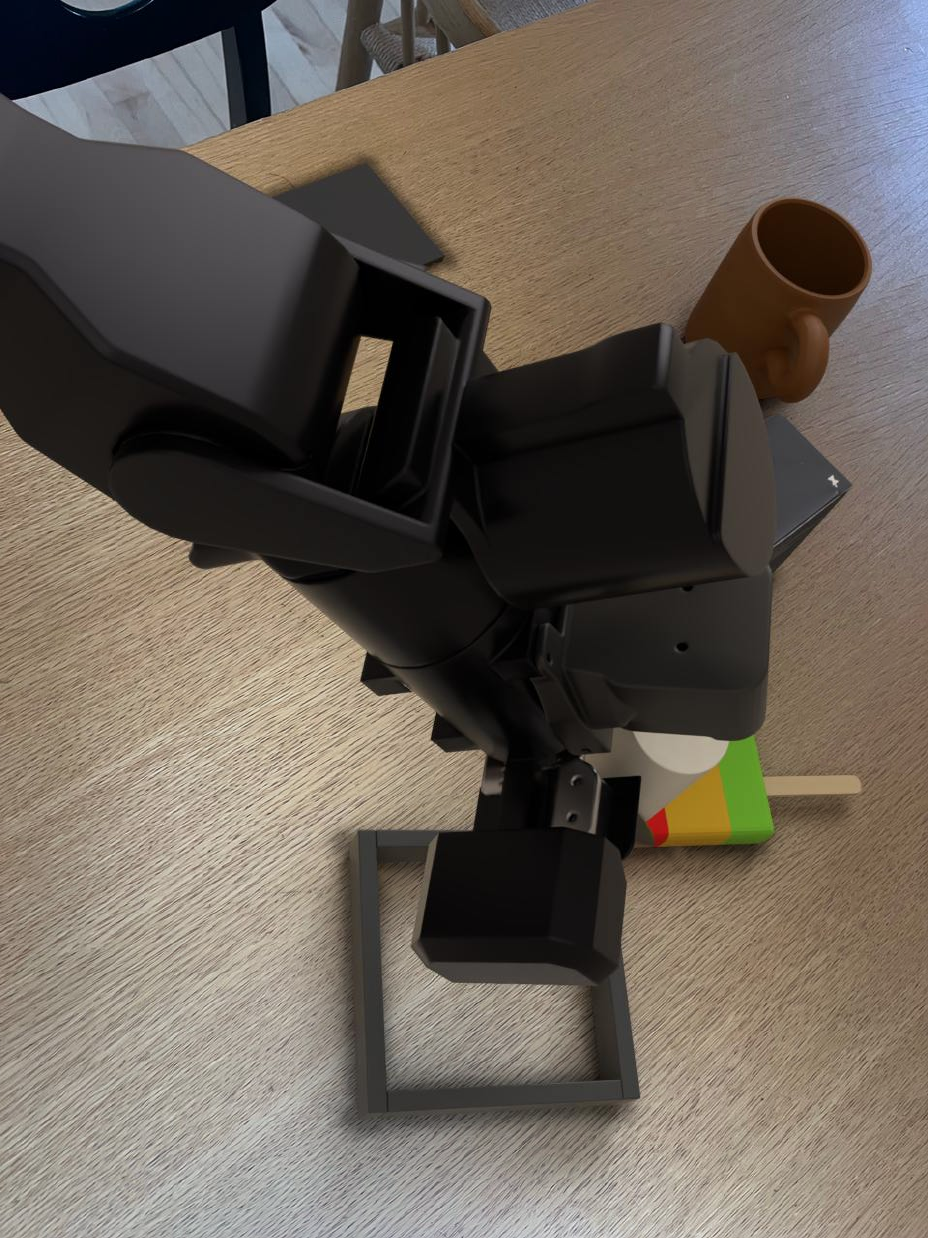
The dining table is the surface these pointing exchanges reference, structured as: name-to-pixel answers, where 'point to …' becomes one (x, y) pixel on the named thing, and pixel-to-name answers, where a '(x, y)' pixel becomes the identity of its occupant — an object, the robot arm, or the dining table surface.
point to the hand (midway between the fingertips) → (646, 795)
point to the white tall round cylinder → (658, 764)
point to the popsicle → (736, 801)
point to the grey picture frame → (380, 1103)
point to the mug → (784, 294)
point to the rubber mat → (363, 214)
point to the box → (799, 487)
